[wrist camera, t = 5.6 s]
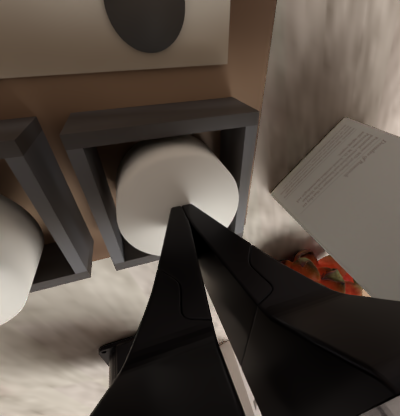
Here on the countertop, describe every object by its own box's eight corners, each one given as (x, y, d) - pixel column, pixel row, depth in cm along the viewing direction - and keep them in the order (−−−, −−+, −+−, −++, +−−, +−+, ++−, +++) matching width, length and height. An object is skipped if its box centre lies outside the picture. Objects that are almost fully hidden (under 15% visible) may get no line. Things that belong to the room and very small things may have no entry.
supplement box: (266, 193, 17) (452, 385, 8) (345, 112, 15) (742, 248, 6) (308, 224, 22) (461, 373, 12) (374, 165, 19) (627, 293, 10)
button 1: (217, 212, 13) (234, 241, 11) (129, 231, 12) (132, 267, 10) (220, 125, 10) (244, 146, 8) (101, 140, 9) (98, 168, 7)
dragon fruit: (232, 258, 24) (310, 232, 29) (245, 333, 25) (319, 295, 29) (295, 281, 16) (387, 240, 21) (312, 390, 17) (398, 326, 22)
